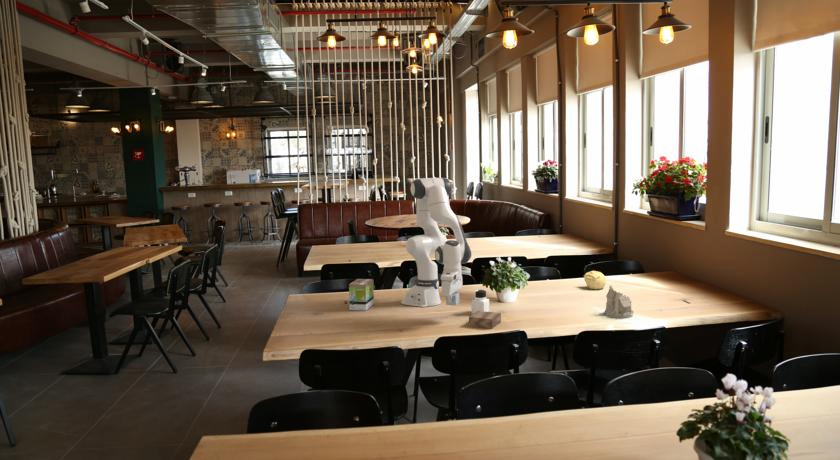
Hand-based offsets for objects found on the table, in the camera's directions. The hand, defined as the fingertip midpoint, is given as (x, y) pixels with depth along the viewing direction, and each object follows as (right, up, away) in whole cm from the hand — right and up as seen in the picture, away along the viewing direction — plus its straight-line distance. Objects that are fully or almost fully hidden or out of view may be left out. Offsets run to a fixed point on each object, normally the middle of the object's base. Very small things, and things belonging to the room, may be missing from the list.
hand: (452, 300), depth 304 cm
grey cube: (0, -2, 0) cm, 2 cm away
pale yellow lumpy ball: (+89, 0, +63) cm, 110 cm away
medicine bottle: (+15, -8, +15) cm, 23 cm away
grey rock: (+86, -8, +6) cm, 87 cm away
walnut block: (+15, -11, -6) cm, 20 cm away
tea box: (-49, -8, +34) cm, 60 cm away
